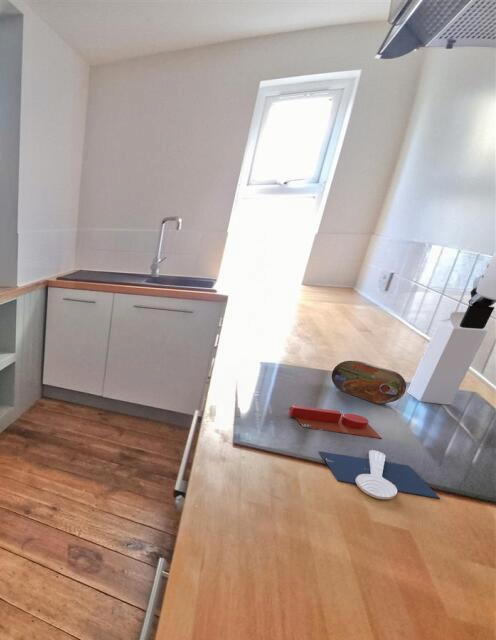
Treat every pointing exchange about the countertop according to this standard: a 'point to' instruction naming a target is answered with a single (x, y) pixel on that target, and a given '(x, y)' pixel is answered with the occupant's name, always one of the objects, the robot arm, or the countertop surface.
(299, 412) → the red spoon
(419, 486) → the blue mat
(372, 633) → the countertop surface
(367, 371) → the tin
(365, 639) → the countertop surface
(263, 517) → the countertop surface
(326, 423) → the terracotta mat
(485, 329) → the milk
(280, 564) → the countertop surface
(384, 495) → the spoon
